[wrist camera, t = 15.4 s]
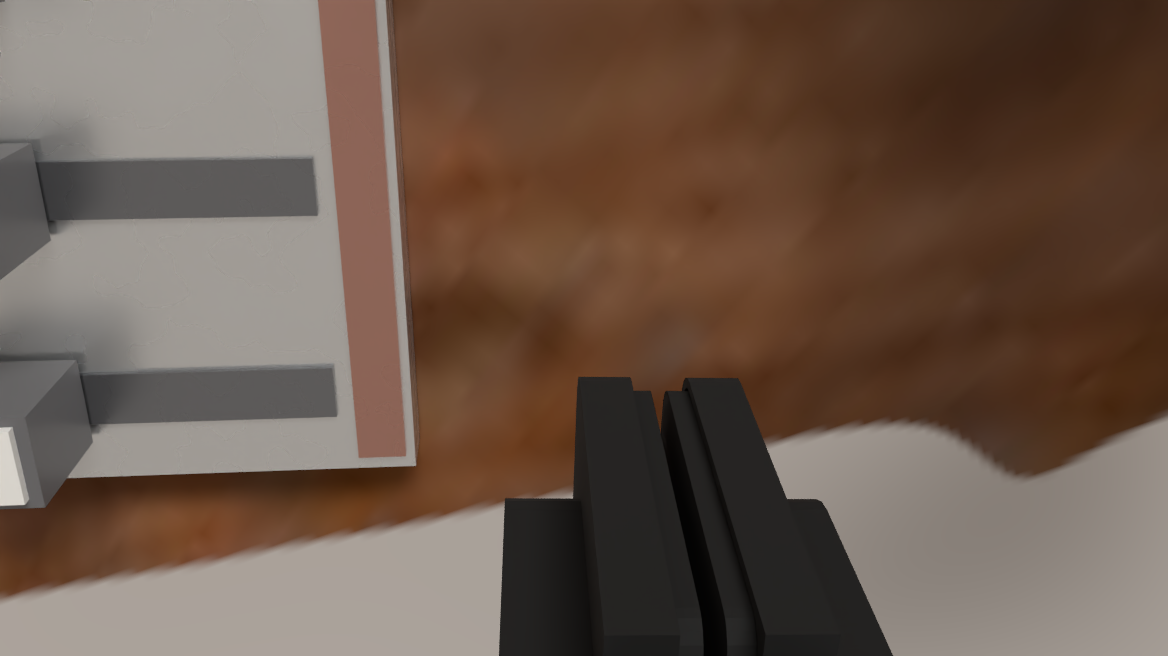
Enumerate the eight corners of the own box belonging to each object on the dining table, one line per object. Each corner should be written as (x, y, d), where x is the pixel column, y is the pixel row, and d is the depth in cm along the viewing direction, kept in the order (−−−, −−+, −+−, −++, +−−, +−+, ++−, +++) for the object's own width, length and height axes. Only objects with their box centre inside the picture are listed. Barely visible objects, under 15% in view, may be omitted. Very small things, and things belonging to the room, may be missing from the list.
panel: (-235, -175, 29) (-290, -180, 27) (381, -169, 30) (373, -173, 28) (-67, 454, 37) (-100, 487, 35) (419, 437, 38) (415, 468, 36)
